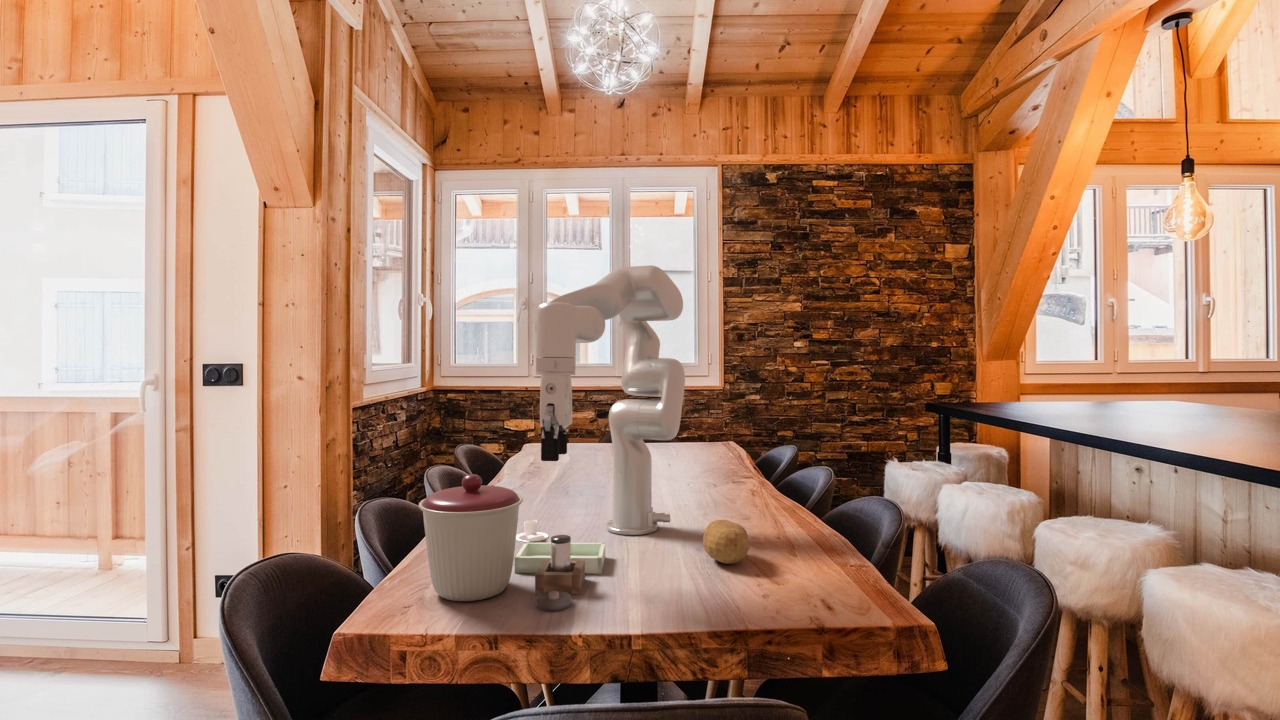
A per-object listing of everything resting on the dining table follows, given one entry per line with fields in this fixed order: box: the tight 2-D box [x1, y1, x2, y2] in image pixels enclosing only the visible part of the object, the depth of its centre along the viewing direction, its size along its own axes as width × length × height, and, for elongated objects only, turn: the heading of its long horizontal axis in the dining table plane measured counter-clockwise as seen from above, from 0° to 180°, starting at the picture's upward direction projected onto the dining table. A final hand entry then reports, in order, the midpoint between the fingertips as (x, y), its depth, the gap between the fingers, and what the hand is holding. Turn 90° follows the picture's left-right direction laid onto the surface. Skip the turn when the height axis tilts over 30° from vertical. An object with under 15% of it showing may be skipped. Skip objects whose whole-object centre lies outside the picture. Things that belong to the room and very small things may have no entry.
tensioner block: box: [534, 560, 586, 613], centre depth 113 cm, size 8×16×4 cm, turn 179°
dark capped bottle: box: [550, 534, 572, 572], centre depth 117 cm, size 4×4×9 cm
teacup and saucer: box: [516, 519, 549, 543], centre depth 148 cm, size 9×8×4 cm
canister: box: [418, 473, 524, 602], centre depth 114 cm, size 18×18×21 cm
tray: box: [514, 542, 606, 574], centre depth 129 cm, size 17×10×3 cm, turn 89°
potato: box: [702, 519, 751, 565], centre depth 131 cm, size 10×14×8 cm
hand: (554, 457), depth 121 cm, fingers open, 9 cm apart
